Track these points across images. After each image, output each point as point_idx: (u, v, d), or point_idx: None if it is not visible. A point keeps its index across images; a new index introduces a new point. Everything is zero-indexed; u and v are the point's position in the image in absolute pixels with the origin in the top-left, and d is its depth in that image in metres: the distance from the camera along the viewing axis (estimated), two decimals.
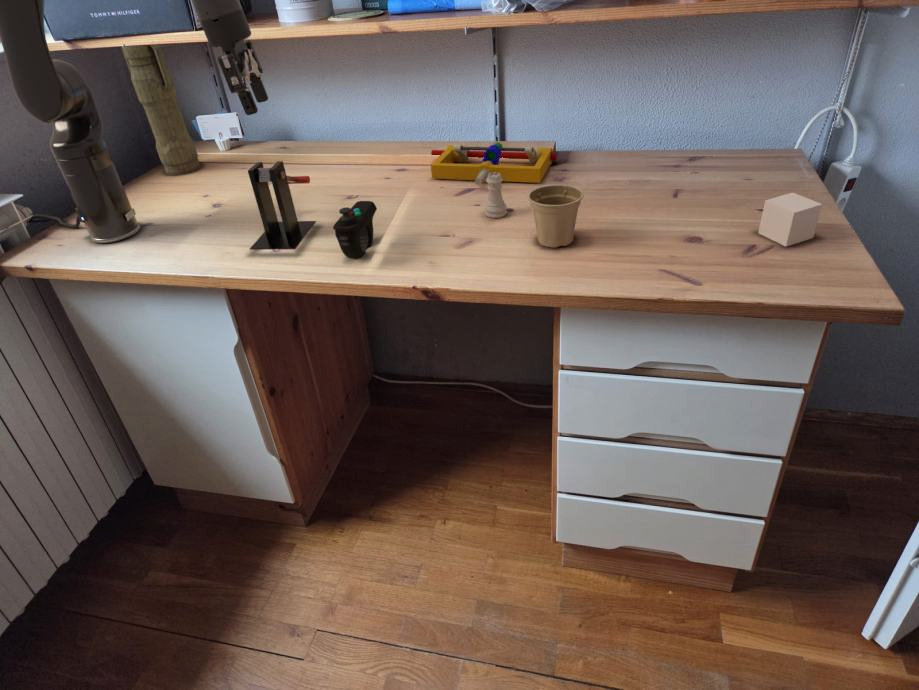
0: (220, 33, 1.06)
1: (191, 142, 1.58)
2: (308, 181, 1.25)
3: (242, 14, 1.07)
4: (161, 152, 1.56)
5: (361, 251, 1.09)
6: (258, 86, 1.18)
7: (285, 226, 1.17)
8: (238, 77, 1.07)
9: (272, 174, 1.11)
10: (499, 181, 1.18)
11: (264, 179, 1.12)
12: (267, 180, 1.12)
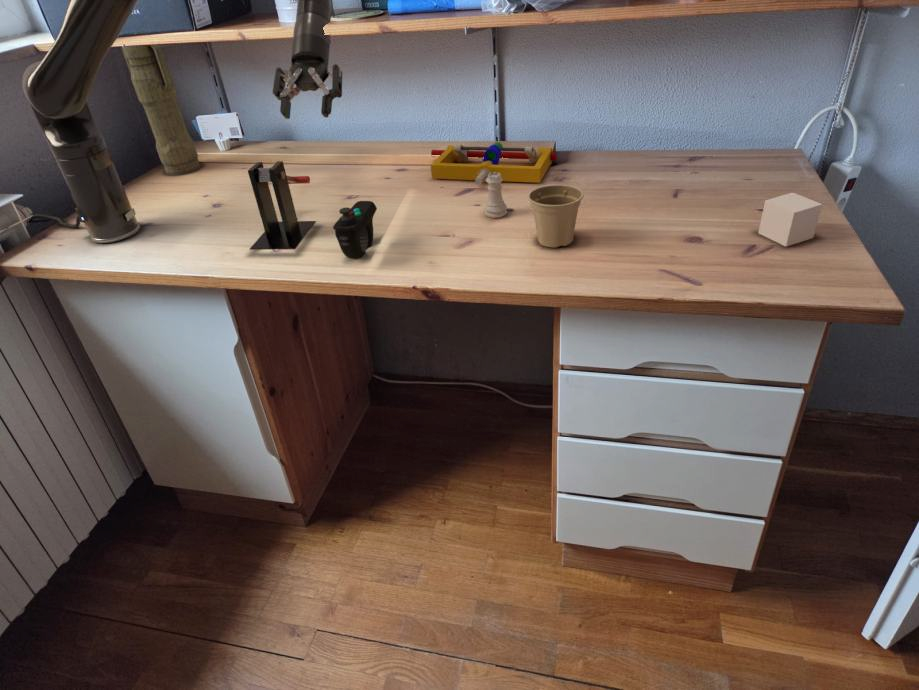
0: (327, 54, 1.30)
1: (191, 142, 1.58)
2: (308, 181, 1.25)
3: None
4: (161, 152, 1.56)
5: (361, 251, 1.09)
6: (289, 105, 1.30)
7: (285, 226, 1.17)
8: (341, 87, 1.29)
9: (272, 174, 1.11)
10: (499, 181, 1.18)
11: (264, 179, 1.12)
12: (267, 180, 1.12)
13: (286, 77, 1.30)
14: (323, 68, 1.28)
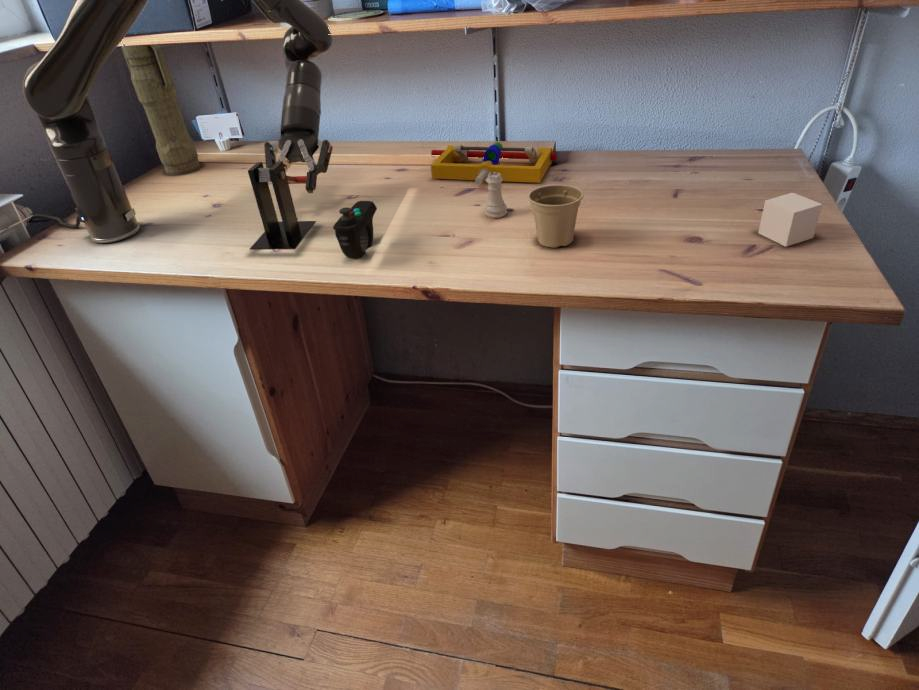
0: (317, 125, 1.26)
1: (191, 142, 1.58)
2: None
3: None
4: (161, 152, 1.56)
5: (361, 251, 1.09)
6: None
7: (285, 226, 1.17)
8: (328, 162, 1.26)
9: (272, 174, 1.11)
10: (499, 181, 1.18)
11: (264, 179, 1.12)
12: (267, 180, 1.12)
13: (276, 150, 1.27)
14: (313, 140, 1.25)
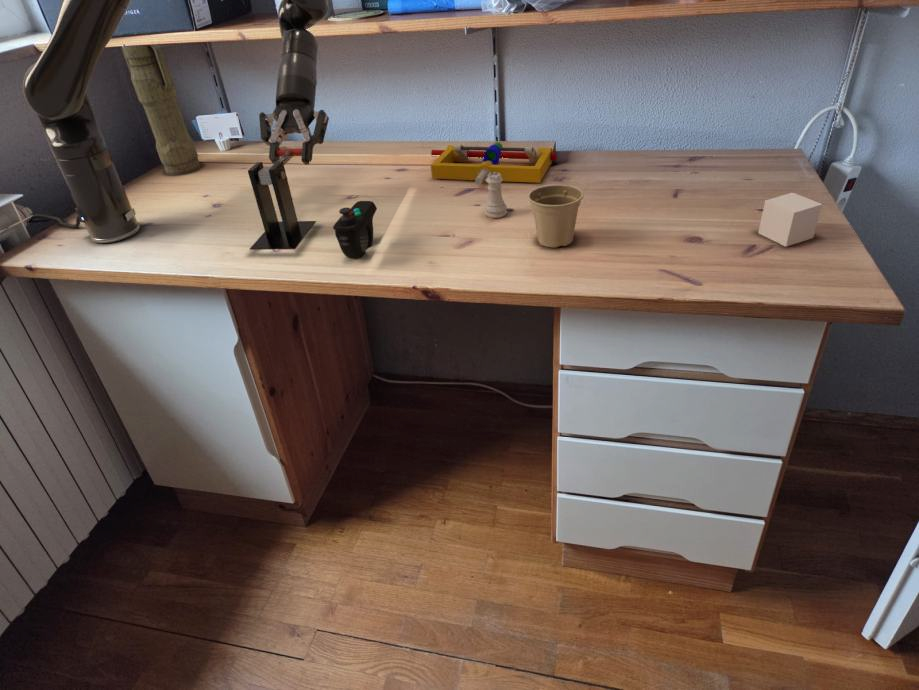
0: (313, 95, 1.24)
1: (191, 142, 1.58)
2: None
3: None
4: (161, 152, 1.56)
5: (361, 251, 1.09)
6: None
7: (285, 226, 1.17)
8: (324, 133, 1.23)
9: (272, 174, 1.11)
10: (499, 181, 1.18)
11: (265, 182, 1.13)
12: (269, 183, 1.13)
13: (271, 121, 1.24)
14: (309, 110, 1.22)
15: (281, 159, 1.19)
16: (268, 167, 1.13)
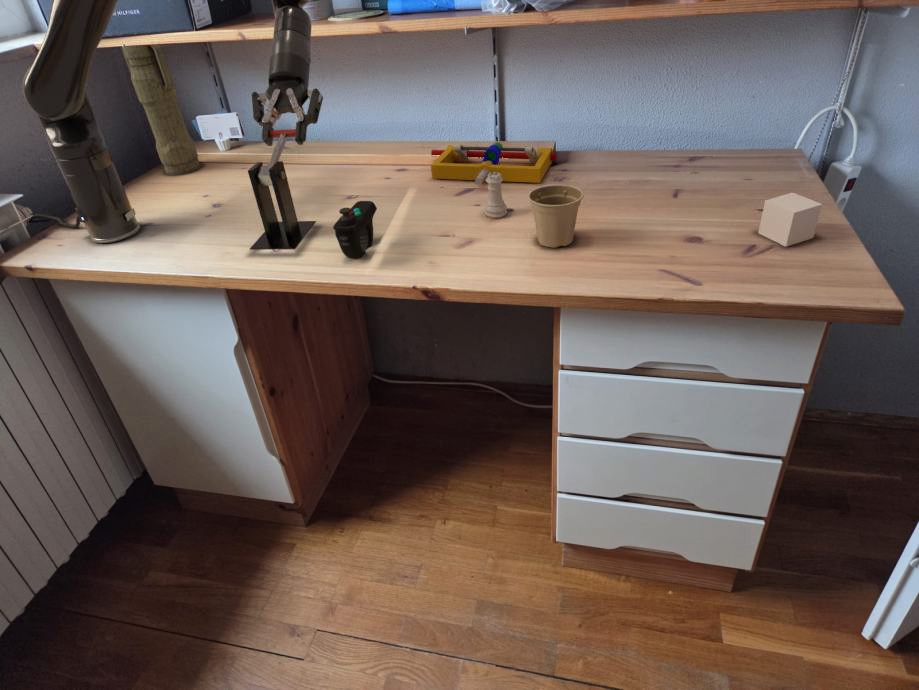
0: (307, 74, 1.21)
1: (191, 142, 1.58)
2: None
3: None
4: (161, 152, 1.56)
5: (361, 251, 1.09)
6: None
7: (285, 226, 1.17)
8: (318, 113, 1.20)
9: (272, 174, 1.11)
10: (499, 181, 1.18)
11: (267, 184, 1.13)
12: (270, 184, 1.13)
13: (264, 100, 1.21)
14: (302, 89, 1.19)
15: (277, 148, 1.17)
16: (267, 167, 1.13)
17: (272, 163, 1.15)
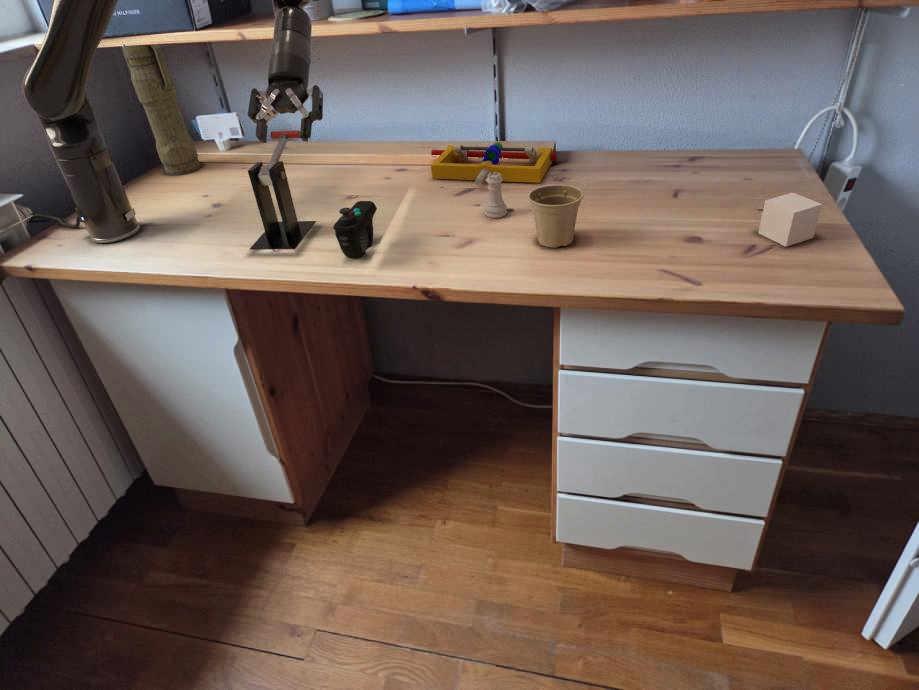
0: (306, 74, 1.21)
1: (191, 142, 1.58)
2: (299, 136, 1.20)
3: None
4: (161, 152, 1.56)
5: (361, 251, 1.09)
6: (265, 128, 1.21)
7: (285, 226, 1.17)
8: (322, 109, 1.20)
9: (272, 174, 1.11)
10: (499, 181, 1.18)
11: (267, 184, 1.13)
12: (270, 184, 1.13)
13: (262, 98, 1.21)
14: (302, 89, 1.19)
15: (277, 149, 1.17)
16: (267, 167, 1.13)
17: (272, 163, 1.15)
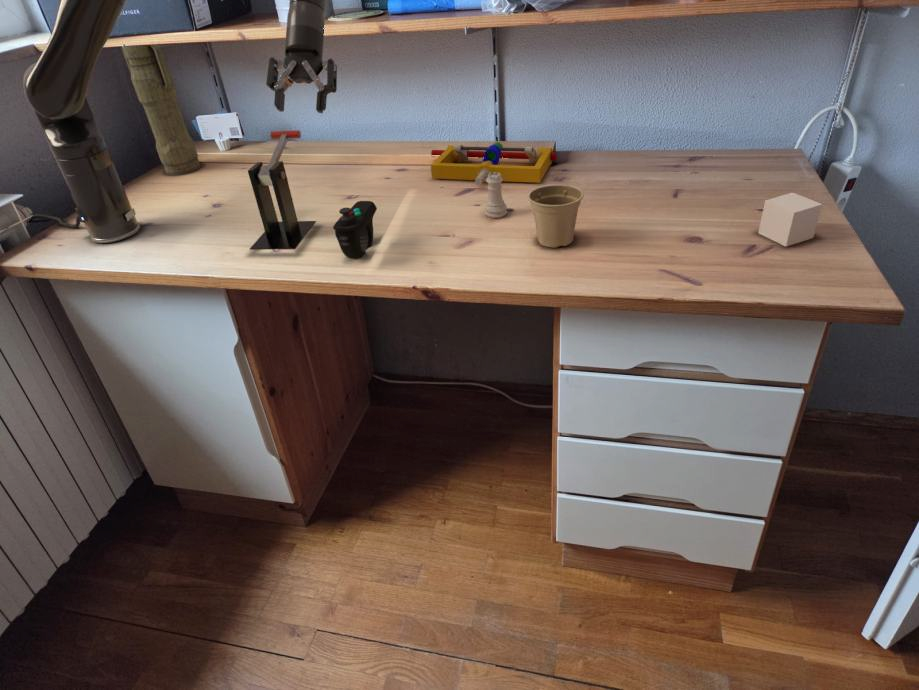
0: (321, 46, 1.28)
1: (191, 142, 1.58)
2: (299, 136, 1.20)
3: None
4: (161, 152, 1.56)
5: (361, 251, 1.09)
6: (283, 97, 1.30)
7: (285, 226, 1.17)
8: (336, 81, 1.29)
9: (272, 174, 1.11)
10: (499, 181, 1.18)
11: (267, 184, 1.13)
12: (270, 184, 1.13)
13: (280, 67, 1.29)
14: (317, 62, 1.27)
15: (277, 149, 1.17)
16: (267, 167, 1.13)
17: (272, 163, 1.15)
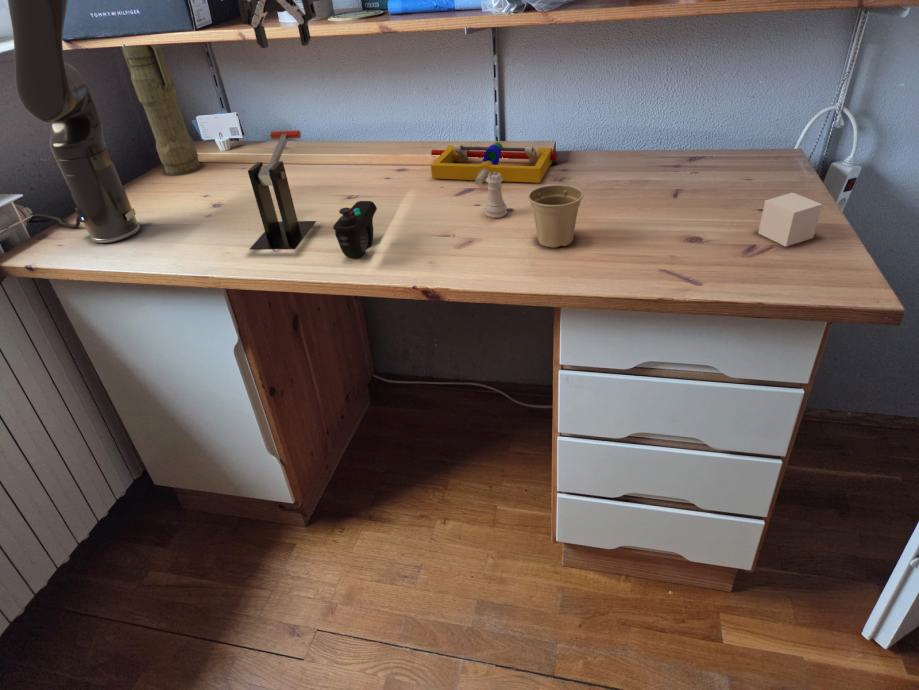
0: None
1: (191, 142, 1.58)
2: (299, 136, 1.20)
3: None
4: (161, 152, 1.56)
5: (361, 251, 1.09)
6: (263, 31, 1.23)
7: (285, 226, 1.17)
8: (313, 4, 1.19)
9: (272, 174, 1.11)
10: (499, 181, 1.18)
11: (267, 184, 1.13)
12: (270, 184, 1.13)
13: None
14: None
15: (277, 149, 1.17)
16: (267, 167, 1.13)
17: (272, 163, 1.15)
